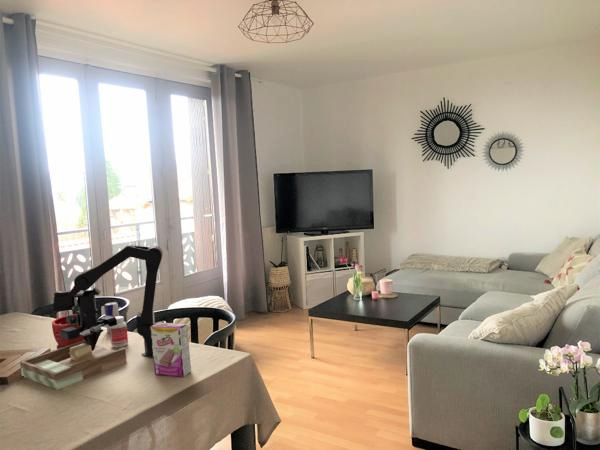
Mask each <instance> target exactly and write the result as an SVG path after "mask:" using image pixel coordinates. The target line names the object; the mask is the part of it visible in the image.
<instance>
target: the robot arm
mask: <svg viewBox="0 0 600 450" xmlns="http://www.w3.org/2000/svg"><path fill="white" fill-rule="evenodd" d="M163 256H164V251H163V249H162V248H161V247H160V246H158V245H152V246H151V245H150V246H142V245H135V244H127V245H126V246H125V247H123V248H122V249H121V250H119V251H118V252H116V253H115V254H112V256H111V257H108V259H105V261H103V262H101V263H100V264H98V265H97V266H93V267H92V268H89V269H87V270H85V271H81V273H79V274H78V275H77V276H76V277H75V278H74V279H73V287H72V288H71V289H70V290H66V291H65V290H64V291H55V292H54V293H53V295H54V297H53V303H52V307H53V310H54V312H63V311H73V310H74V309H75V307H76V308H78V311H76V314H77V316H75V317H74V316H73V315H74V314H69V315H70V316H68V315H66V316H67V317H66V322H67V325H71V324H72V325H73V327H69V328H66V329H62V330H61V332H60V336H61V338H63V339H67V340H72V339H75V338H78V337H79V336H82V337H83V338H84V340H85V341H86V343H87V345H91V350H92V351H94V349H95V346H97V343H98V342H99V341H98V340H99V339H100V336H101V334H102V333H103V332H104V329H103V328H102V327H103V326H107V324H108V326H110V327H111V326H115V325H117V319H116V318H115V317H112V316H106V315H104V316H103V317H100V318H99V319H98V313H99V312H100V311H99V309H97V303H96V296H99V295H100V293H102V292H101V290H99V289H98V288H97V287H96V286H95V287H94V288H93V289H90V288H91V287H92V286H93V285H94V284H95V283H97V282H98V280H100V279H101V277H103V276H104V275H106V274H107V273H109V272H110V271H111V270H113V269H115V268H116V267H117V266H119V265H120V264H122V263H123V262H124V261H126V260H128V259H129V258H134V259H138V260H142V261H144V262H145V268H146V269H145V271H146V278H145V284H144V285H145V286H144V293H143V294H144V295H143V301H142V310H141V312H137V314H136V316H135V318H136V319H135V320H136V323H135V327H134V328H135V329H136V332H137V334H138V335H140V337H142V338H143V345H144V352H143V353H141V355H142V356H145V357H148V358H152V359H153V349H152V339H151V329H150V327H151V326H152V325H154V324H156V323H155V322H156V321H155V320H156V319H155V312H154V311H155V310H154V305H155V297H156V291H157V281H158V280H157V279H158V272H159V269H160V265H161V262H162V259H163ZM81 291H82V293H81ZM77 306H78V307H77ZM76 325H77V326H81V327H79V328H74V326H76ZM85 328H86V329H85Z"/></svg>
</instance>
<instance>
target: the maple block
mask: <svg viewBox="0 0 600 450" xmlns="http://www.w3.org/2000/svg"><path fill="white" fill-rule="evenodd" d="M70 355H71V359H72V360H76V361H82V360H84V359H87V358H90V357H92V350H91V345H87V344H84V343H83V344H80V345H77V346H74V347H71V348H70Z"/></svg>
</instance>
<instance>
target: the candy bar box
mask: <svg viewBox="0 0 600 450" xmlns="http://www.w3.org/2000/svg"><path fill="white" fill-rule="evenodd" d="M150 329H151V339H152V349H153V358H152V360H153V369H154V375H155V376H156V375H157V376H166V377H175V378H176V377H177V378H185V377H186V376H187V375H188V374H190V373H191V372H192V365H191V354H190V343H189V341H190V340H189V333H188V330H189V329H188V324H187V323H176V322H175V323H174V322H161V321H160V322H159V321H158V322H156V323H155V324H154V325H152V326H151V327H150Z"/></svg>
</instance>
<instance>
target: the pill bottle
mask: <svg viewBox="0 0 600 450" xmlns="http://www.w3.org/2000/svg"><path fill="white" fill-rule="evenodd" d="M115 318H116V319H117V325H115V326H111V327H110V342H111V347H112V348H124V347H126V346H127V345H128V344H129V335H128V334H129V333H128V328H127V327H128V325H127V322H126V321H125V317H124V316H122V315H119V316H116V317H115Z"/></svg>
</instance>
